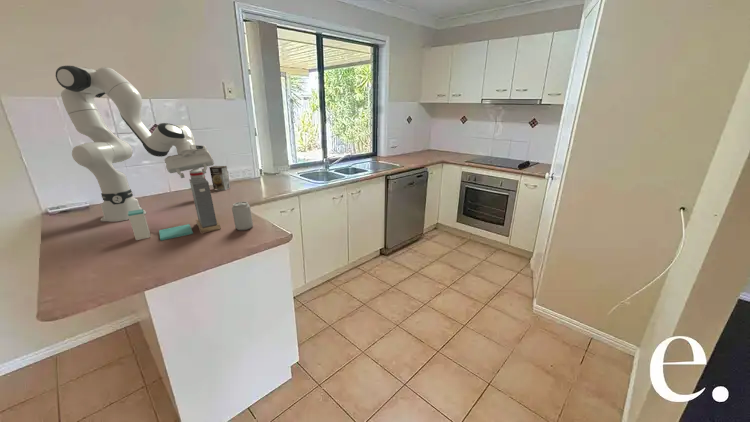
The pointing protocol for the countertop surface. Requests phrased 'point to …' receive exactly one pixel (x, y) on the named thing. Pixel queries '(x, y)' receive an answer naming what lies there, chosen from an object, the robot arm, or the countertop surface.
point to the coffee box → (220, 177)
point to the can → (242, 215)
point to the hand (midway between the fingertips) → (193, 175)
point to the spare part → (139, 224)
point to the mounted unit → (204, 205)
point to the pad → (175, 232)
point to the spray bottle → (196, 173)
